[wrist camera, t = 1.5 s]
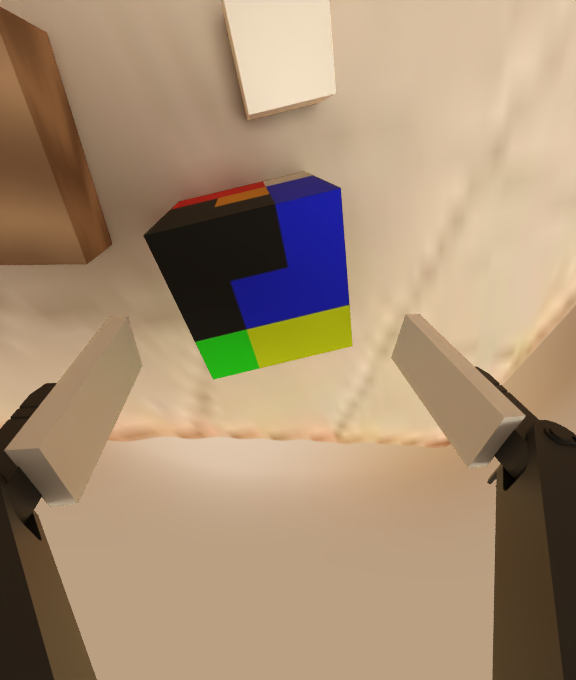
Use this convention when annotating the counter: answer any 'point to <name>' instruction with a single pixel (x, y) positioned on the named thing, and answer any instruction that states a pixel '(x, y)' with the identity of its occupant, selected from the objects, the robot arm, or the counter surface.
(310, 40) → the beige wooden block
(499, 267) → the counter surface
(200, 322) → the puzzle toy
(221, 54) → the counter surface
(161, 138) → the counter surface
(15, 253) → the walnut block
